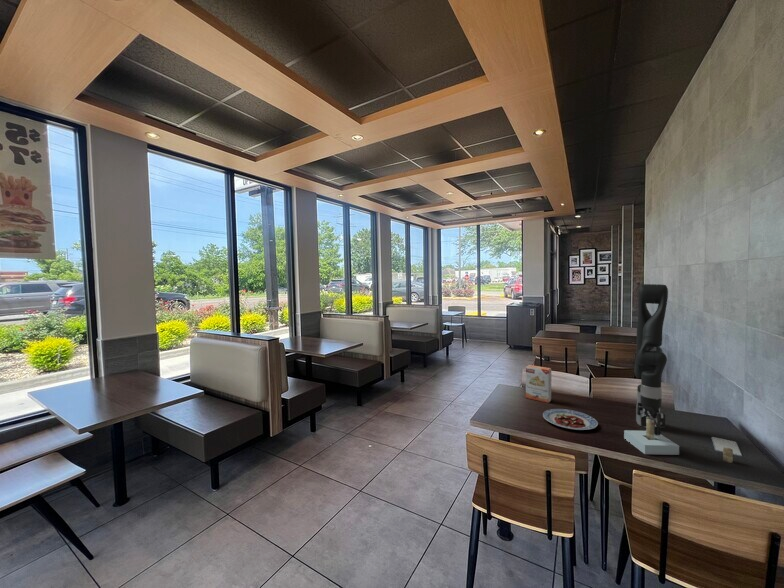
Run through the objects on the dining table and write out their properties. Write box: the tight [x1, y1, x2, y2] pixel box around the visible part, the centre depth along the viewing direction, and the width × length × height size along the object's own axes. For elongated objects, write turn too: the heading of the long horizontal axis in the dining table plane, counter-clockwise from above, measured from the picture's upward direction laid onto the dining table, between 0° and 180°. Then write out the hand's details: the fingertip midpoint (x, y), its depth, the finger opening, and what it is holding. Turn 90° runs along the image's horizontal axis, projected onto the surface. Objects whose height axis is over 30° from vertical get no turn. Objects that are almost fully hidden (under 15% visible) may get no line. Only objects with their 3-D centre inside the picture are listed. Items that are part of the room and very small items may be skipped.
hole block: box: [623, 429, 680, 456], centre depth 148 cm, size 14×14×4 cm
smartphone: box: [711, 436, 743, 457], centre depth 146 cm, size 8×1×15 cm
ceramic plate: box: [542, 408, 599, 431], centre depth 174 cm, size 26×26×3 cm
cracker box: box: [525, 364, 552, 404], centre depth 207 cm, size 14×6×21 cm, turn 48°
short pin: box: [722, 447, 734, 464], centre depth 135 cm, size 3×3×5 cm
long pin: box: [645, 419, 654, 440], centre depth 148 cm, size 3×3×12 cm
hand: (650, 430), depth 147 cm, fingers open, 8 cm apart
